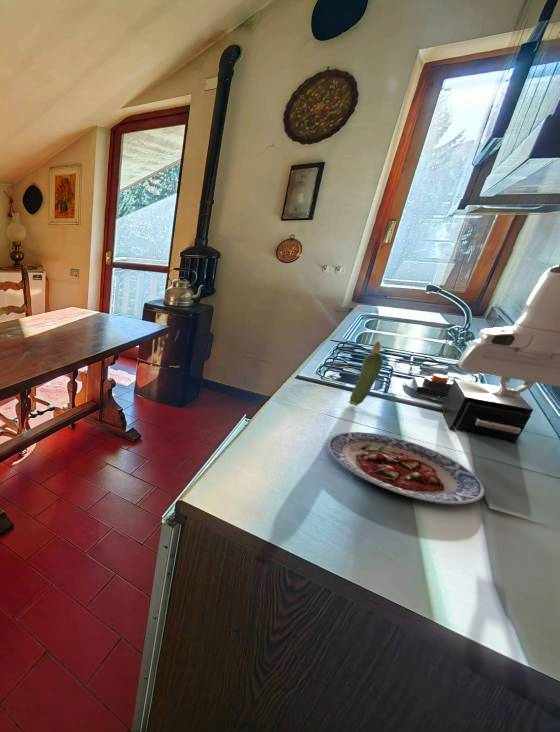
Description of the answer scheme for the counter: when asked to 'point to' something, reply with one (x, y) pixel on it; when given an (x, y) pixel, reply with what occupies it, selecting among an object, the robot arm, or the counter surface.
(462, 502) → the ceramic plate
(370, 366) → the vegetable
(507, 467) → the counter surface
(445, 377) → the button
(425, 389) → the control block
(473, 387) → the cabinet
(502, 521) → the counter surface
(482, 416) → the small drawer unit
